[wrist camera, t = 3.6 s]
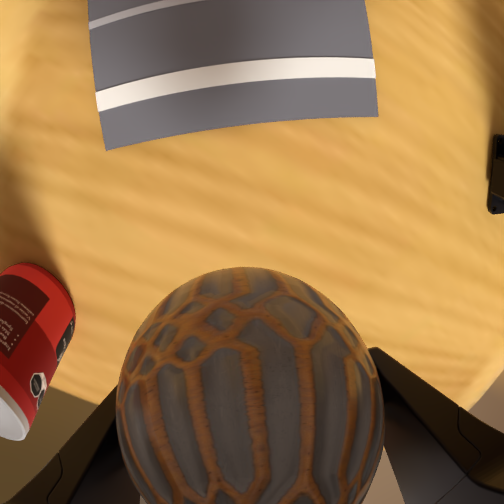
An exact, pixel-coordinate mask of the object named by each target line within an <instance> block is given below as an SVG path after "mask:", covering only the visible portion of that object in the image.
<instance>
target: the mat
mask: <svg viewBox="0 0 504 504" xmlns="http://www.w3.org/2000/svg"><path fill="white" fill-rule="evenodd" d="M88 15H89V23H88V24H89V31H90V44H91V55H92V64H93V73H94V81H95V89H96V92H95V93H96V100H97V107H98V112H99V115H100V121H101V127H102V133H103V138H104V143H105V149H106V151H107V150H111V149H115V148H119V147H123V146H128V145H132V144H136V143H141V142H145V141H150V140H155V139H160V138H165V137H170V136H175V135H181V134H186V133H192V132H198V131H204V130H211V129H217V128H224V127H232V126H239V125H248V124H256V123H266V122H276V121H287V120H300V119H316V118H338V117H378V106H377V92H376V81H375V78H376V73H375V64H374V59H373V53H372V45H371V38H370V31H369V24H368V18H367V12H366V6H365V1H364V0H88Z"/></svg>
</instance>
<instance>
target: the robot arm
mask: <svg viewBox="0 0 504 504" xmlns="http://www.w3.org/2000/svg"><path fill="white" fill-rule="evenodd" d="M488 211H489V212H490V213H491V214H501V213H504V135H502V134H496V135H495V136H494V138H493V158H492V173H491V184H490V194H489V202H488ZM368 351H369V353H370V355H371V357H372V359H373V361H374V364H375V366H376V369H377V373H378V376H379V379H380V383H381V388H382V394H383V400H384V410H385V437H384V447H385V450H386V452H387V455H388V458H389V461H390V463H391V466H392V469H393V471H394V474H395V477H396V479H397V482H398V485H399V488H400V491H401V493H402V496H403V499H404V502H405V504H504V433H502V432H500V431H498V430H496V429H495V428H493V427H491V426H489V425H488V424H486V423H484V422H483V421H481V420H479V419H478V418H476V417H475V416H473V415H472V414H470V413H469V412H467V411H466V410H465V409H463V408H462V407H459V406H458V405H457V404H456V403H455V402H453V401H452V400H451V399H449V398H448V397H446V396H445V395H444V394H442V393H441V392H439V391H438V390H437V389H435V388H434V387H432V386H431V385H430V384H428V383H427V382H425V381H424V380H423V379H421V378H420V377H418V376H417V375H416V374H414V373H413V372H412V371H410V370H409V369H407V368H406V367H405V366H403V365H402V364H400V363H399V362H398V361H396V360H395V359H393V358H392V357H391V356H389V355H388V354H387V353H385V352H384V351H382V350H381V349H380V348H378V347H372V348H368ZM117 387H118V385H117V386H116V387H115V388H114V389H113V390H112V391H111V392H110V394H109V395H108V396H107V397H106V398H105V399H104V400H103V401H102V403H101V404H100V405H99V406H98V407H97V408H96V409H95V410H94V412H93V413H92V414H91V415H90V416H89V417H88V418H87V420H86V421H85V422H84V423H83V424H82V425H81V426H80V427H79V428H78V430H77V431H76V432H75V433H74V434H73V435H72V436H71V438H70V439H69V440H68V441H67V442H66V443H65V445H64V446H63V447H62V448H61V449H60V450H59V453H56V455H55V456H54V457H53V458H52V459H51V460H50V461H49V463H47V465H46V466H45V467H44V468H43V469H42V470H41V471H40V472H39V473H38V474H37V475H36V476H35V477H34V478H33V479H32V480H31V481H29V482H28V483H27V484H26V485H25V486H24V487H23V488H22V489H21V490H19V491H18V492H17V493H16V494H15V495H14V496H13V497H12V498H10V499H9V500H8V501H6V502H5V503H2V504H140V493H139V492H138V490H137V489H136V487H135V485H134V483H133V482H132V480H131V478H130V476H129V474H128V472H127V469H126V466H125V463H124V461H123V457H122V453H121V449H120V445H119V440H118V433H117V424H116V394H117Z"/></svg>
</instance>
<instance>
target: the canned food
mask: <svg viewBox="0 0 504 504" xmlns="http://www.w3.org/2000/svg"><path fill="white" fill-rule="evenodd" d="M75 319H76V316H75V309H74V306H73V303H72V301H71V299H70V297H69V295H68V293H67V291H66V290H65V289H64V287H63V286H62V284H61V283H60V282H59V281H58V280H57V279H56V278H55V277H54V276H53V275H52V274H51V273H49V272H48V271H46V270H45V269H43V268H42V267H40V266H37V265H35V264H31V263H19V264H16V265H13V266H10V267H8V268H7V269H6V270H4V271H3V272H2V273H1V274H0V436H1V437H4V438H7V439H11V440H22V439H24V438H25V436H26V434H27V433H28V431H29V429H30V427H31V424H32V422H33V420H34V418H35V416H36V413H37V411H38V408H39V406H40V404H41V401H42V399H43V397H44V394H45V392H46V390H47V388H48V386H49V384H50V381H51V379H52V377H53V375H54V373H55V371H56V369H57V367H58V364H59V362H60V360H61V358H62V356H63V354H64V352H65V350H66V348H67V346H68V344H69V342H70V341H71V339H72V337H73V333H74V330H75Z"/></svg>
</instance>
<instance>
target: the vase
mask: <svg viewBox="0 0 504 504" xmlns="http://www.w3.org/2000/svg"><path fill="white" fill-rule="evenodd" d="M116 424H117V433H118V440H119V445H120V449H121V453H122V457H123V461H124V463H125V466H126V469H127V472H128V474H129V476H130V478H131V480H132V482H133V483H134V485H135V487H136V489H137V490H138V492H139V493H140V495H141V496H142V498H143V499H144V500H145V502H146V503H147V504H362V503H363V501H364V499H365V497H366V494H367V492H368V490H369V488H370V485H371V483H372V480H373V478H374V476H375V473H376V470H377V467H378V464H379V462H380V459H381V455H382V450H383V446H384V437H385V410H384V400H383V394H382V388H381V383H380V379H379V376H378V373H377V369H376V366H375V364H374V361H373V359H372V357H371V355H370V353H369V351H368V349H367V347H366V345H365V343H364V342H363V340H362V338H361V337H360V335H359V333H358V332H357V330H356V329H355V328H354V326H353V325H352V323H351V322H350V321H349V319H348V318H347V317H346V315H345V314H344V313H343V312H342V311H341V310H340V309H339V308H338V307H337V306H336V305H335V304H334V303H333V302H332V301H331V300H329V299H328V298H327V297H326V296H325V295H323V294H322V293H320V292H319V291H318V290H316V289H315V288H313V287H311V286H310V285H308V284H307V283H305V282H303V281H301V280H299V279H297V278H294V277H292V276H289V275H286V274H284V273H281V272H277V271H274V270H269V269H264V268H254V267H237V268H228V269H222V270H217V271H213V272H210V273H207V274H204V275H201V276H199V277H196V278H194V279H192V280H190V281H188V282H187V283H185V284H183V285H182V286H180V287H179V288H177V289H176V290H174V291H173V292H171V293H170V294H169V295H168V296H166V297H165V298H164V299H163V300H162V301H161V302H160V303H159V304H158V305H157V306H156V307H155V308H154V309H153V310H152V312H151V313H150V314H149V315H148V316H147V318H146V319H145V321H144V322H143V323H142V325H141V326H140V328H139V329H138V331H137V332H136V334H135V336H134V338H133V340H132V343H131V345H130V347H129V350H128V352H127V354H126V357H125V360H124V363H123V366H122V369H121V373H120V377H119V382H118V387H117V394H116Z"/></svg>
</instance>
